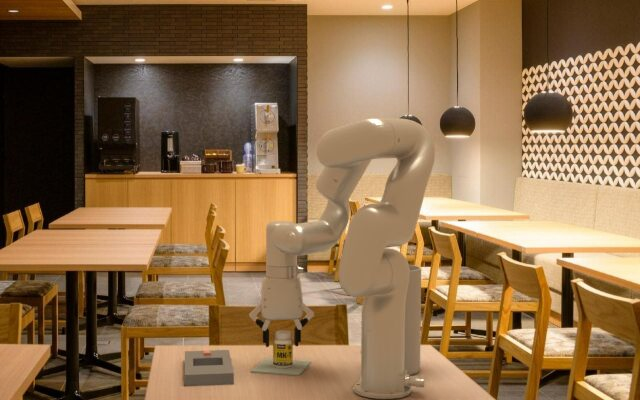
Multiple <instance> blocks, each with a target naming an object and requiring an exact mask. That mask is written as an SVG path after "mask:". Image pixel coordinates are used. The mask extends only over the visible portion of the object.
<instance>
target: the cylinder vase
mask: <svg viewBox="0 0 640 400" xmlns="http://www.w3.org/2000/svg"><path fill="white" fill-rule="evenodd" d="M409 269H410V277H409V283H408V288H407V294H406V304H405V345H404V369H407V375H410V376H414V375H416V374H417V373H418V372H419V371H420V369H421V333H422V330H421V325H422V322H421V320H422V318H421V317H422V267H420V266H418V265H413V264H409Z"/></svg>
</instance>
